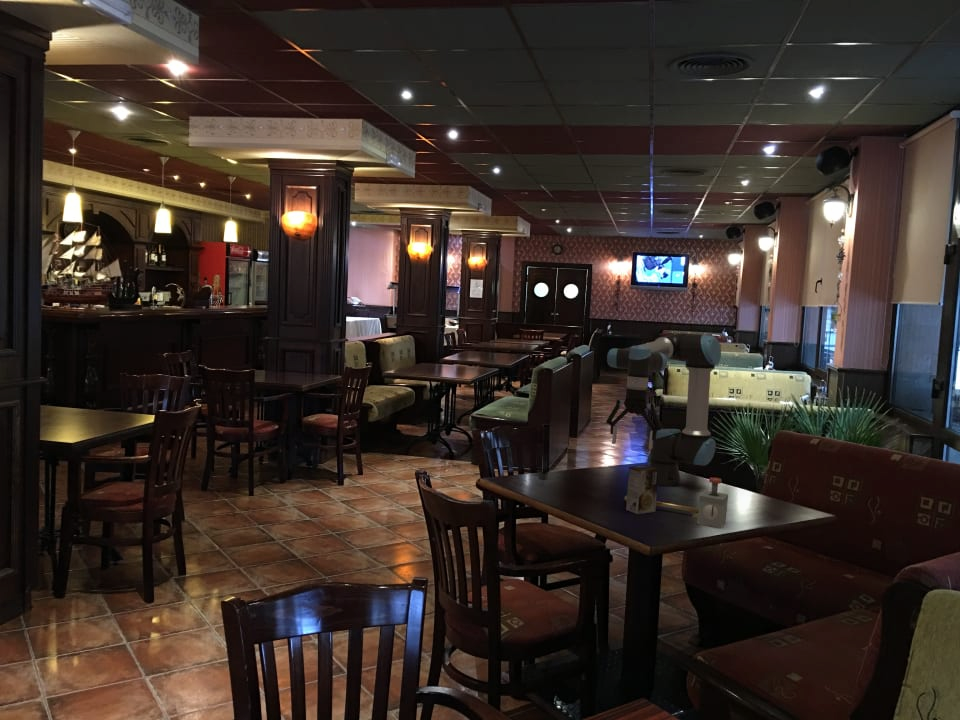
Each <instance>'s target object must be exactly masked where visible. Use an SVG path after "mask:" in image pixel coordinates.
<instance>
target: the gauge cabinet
mask: <svg viewBox="0 0 960 720" xmlns="http://www.w3.org/2000/svg"><path fill="white" fill-rule="evenodd" d="M698 500H699V501H698V508H699V510H698V517H697V525H699V524H700V525H701V526H705V525H706V527H710V526H712V527H711V528H718V529H723V527H724V526H725V524H726V522H727V511H728V501H729V493H724V492H719V491H717V494H712V493H711V490H704V491H702V493H701V494H700V495H699V499H698Z"/></svg>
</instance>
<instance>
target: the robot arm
mask: <svg viewBox="0 0 960 720" xmlns="http://www.w3.org/2000/svg"><path fill="white" fill-rule="evenodd" d="M721 358H722V347H721V344H720V341H719V339H717V337H715V336H714V335H707V334H697V333H673V334H669V335H664V336H660V337H657V338H656V339H655V340H654V341H651V342H646V343H642V344H639V345H632V346H630V347H626V348H616V347H615V348H611V349H609V350H608V352H607V356H606V359H607V360H606V362H607V365H608V366H609V367H610V368H614V369H622V370H627V379H626V387H627V388H626V389H625V390H626V391H625V400H622V399H621V398H620V399H617V400H616V402H615V406H614V408H613V409H612V411H611V413H609V416H608V417H607V419H606V421H605V423H606V425H607V424H608V425H609V426H610V431H609V434H610V435H612V438H611V439H612V440H611V445H612V444H613V445H616V444H617V435H618V434H617V432H618V425H616V424H618V423H619V422H620V421H621V420H622V419H623V418H624V417H625V416H626V415H627V414H628V413H629V414H632V415H633V414H635V415H641V416H642V417H643V419H644V420H645V422H646V423H647V425H648V426H649V427H650V429H651V430H650V432H649V442H648V450H650V457H649V458H650V459H649V464H648V466H652V467H654V468H657V469H658V483H657V486H664V487H678V486H680V485H681V479H682V478H681V476H680V471H679V466H678V464H679V462H681V463H687V464H691V465H695V466H707V465H708V464H709V463H711V461H712V459H713V458H714V457H715V454H716V453H715V452H716V447H717V444H716V440H715V439H713V438H712V437H711V434H712V433H711V432H710V431H709V429H708V422H709V421H708V420H709V407H710V406H709V403H710V402H709V401H710V387H711V385H710V384H711V372H713V370H715V367H716V365H718V364H719V363H720V361H721ZM668 360H669V361H670V360H671V361H679V362H685V365H684V366H685V368H686V369H687V370H688V379H687V381H688V382H687V383H688V385H687V398H686V399H687V401H686V403H687V404H686V418H685V421H686V422H685V427H684V428H683V429H682V431H681V429H677V428H663V425H662V424H661V421H660V418H659V416H658V413H657V410H656V404H655V403H647V402H648V401H647V398H648V390H647V389H648V388H649V376H650V375H649V374H650V373H661V372H662V371H664V370H665V369H666V368H667V365H668ZM623 405H624V407H625V409H624V410H622V412H621V413H619V415H618V416H617V417H616V418H615V416H616V414H617V413H618V411H619V410H620V407H622V406H623ZM647 408H648V410H650V413H651V416H652V419H653V420H652V419H651V418H650V416H649V414H648V413H647V411H646V409H647ZM614 418H615V419H614ZM653 421H654V422H653Z"/></svg>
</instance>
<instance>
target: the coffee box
mask: <svg viewBox="0 0 960 720" xmlns="http://www.w3.org/2000/svg"><path fill="white" fill-rule="evenodd" d="M657 483H658V469H657V468H654V467H652V466H649V464H646V465H643V464H642V465H634V466H629V467H628V481H627V493H626V494H627V495H626V496H627V501H626V507H625V510H626V511H629V512H631V513H633V514H636V515H643V514H648V513H655V512H656V511H657V510H656V509H657V508H656V507H657V506H656V501H657V495H658V494H657V493H658V485H657Z"/></svg>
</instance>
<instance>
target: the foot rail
mask: <svg viewBox="0 0 960 720" xmlns="http://www.w3.org/2000/svg"><path fill="white" fill-rule="evenodd" d="M624 501H626V502H627V495H625V496H624ZM656 507H662V508H669V509H674V510H681V511H684V512H690V513H691V512H692V513H694V514H693V515H692V518H693V517H694V518H698V510H699V507H698V508H697V507H692V506H687V505H680V504H675V503H670V502H662V501H657V500H656Z"/></svg>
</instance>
